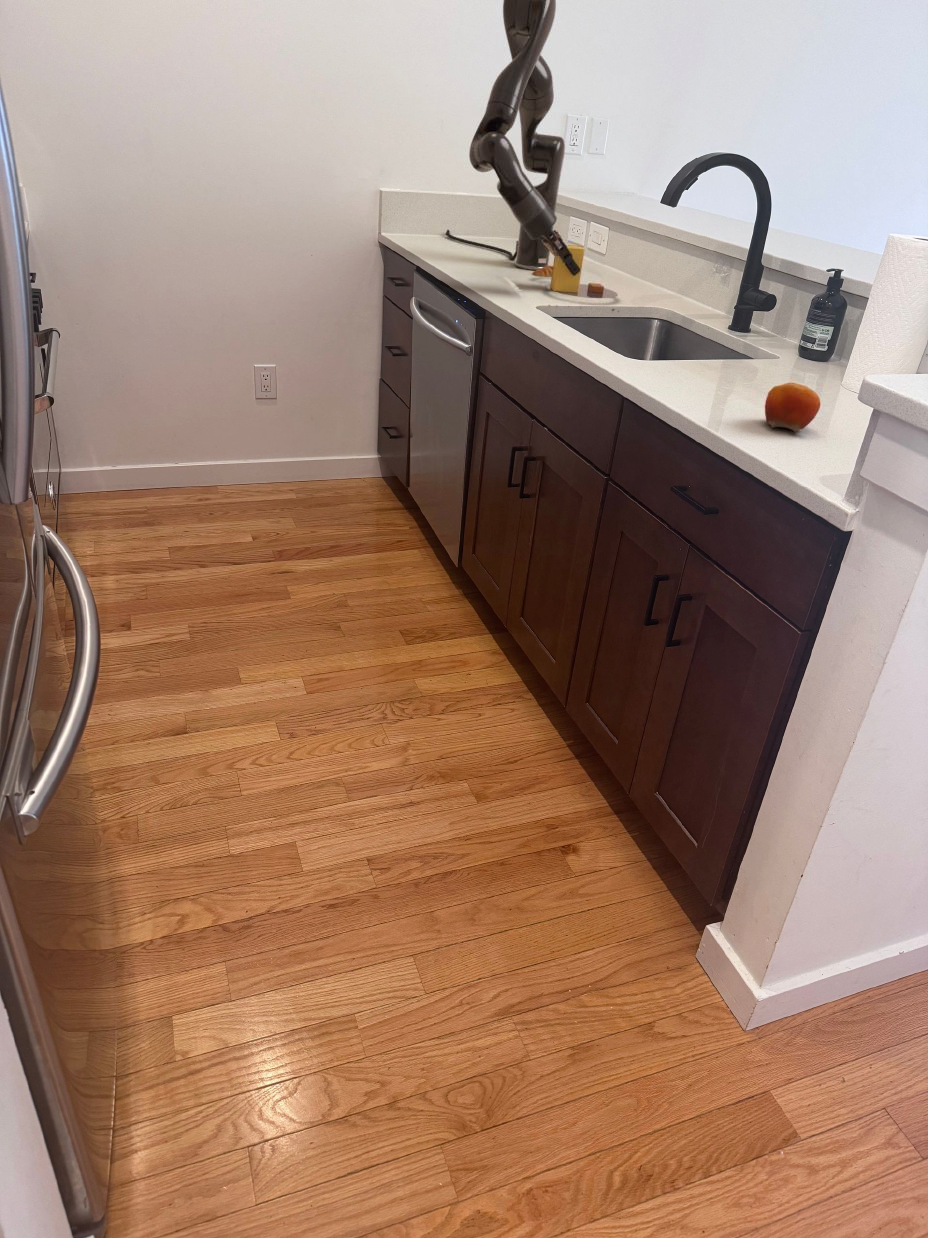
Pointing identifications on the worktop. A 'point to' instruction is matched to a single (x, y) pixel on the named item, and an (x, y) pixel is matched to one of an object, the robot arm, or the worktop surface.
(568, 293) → the plate
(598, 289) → the orange slab
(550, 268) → the pastry
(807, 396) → the fruit
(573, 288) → the sponge
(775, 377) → the worktop surface
